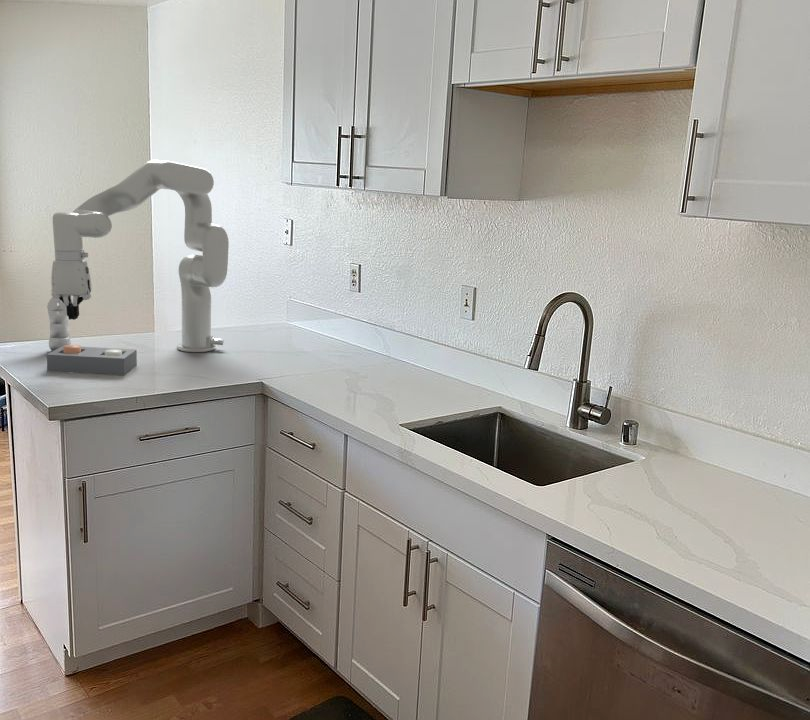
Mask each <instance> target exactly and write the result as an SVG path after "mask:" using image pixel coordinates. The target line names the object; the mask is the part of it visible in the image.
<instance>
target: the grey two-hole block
mask: <svg viewBox="0 0 810 720" xmlns="http://www.w3.org/2000/svg"><path fill="white" fill-rule="evenodd" d="M106 350H121V351H122V355H121V356H113V355H105V351H106ZM137 355H138V353H137V349H133V348H132V349H131V348H115V347H114V348H112V347H111V348H110V347H91V346H81V353H79V354H74V353H63V346H61V347H60V348H58V349H56V350H54V351H52V350H51V352H48V353H46V367H47V369H46V370H47V371H46V372H49V371H55V372H54V373H69V372H73V374H88V373H93V375H94V374H95V375H109V376H110V374H111V376H112V375H113V376H126V375H127V374H128V373H130V371H132V370H133V369H134V368H136V367H137V366H138V365H137V364H138V363H137V362H138V359H137V357H138V356H137ZM135 366H136V367H135Z"/></svg>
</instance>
